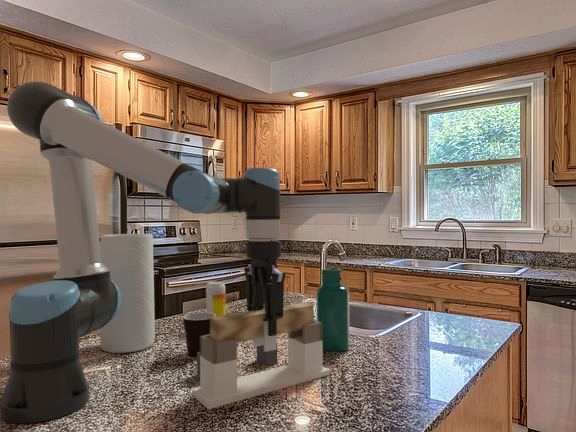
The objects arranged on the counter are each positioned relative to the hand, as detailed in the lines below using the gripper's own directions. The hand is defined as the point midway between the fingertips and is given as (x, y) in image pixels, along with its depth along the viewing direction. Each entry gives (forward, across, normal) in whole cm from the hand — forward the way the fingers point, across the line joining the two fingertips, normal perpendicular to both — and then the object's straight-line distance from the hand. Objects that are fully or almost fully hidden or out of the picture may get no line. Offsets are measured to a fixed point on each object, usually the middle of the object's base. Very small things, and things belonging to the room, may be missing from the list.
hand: (264, 347), depth 93 cm
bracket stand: (+8, 0, 0) cm, 8 cm away
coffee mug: (+8, +29, +2) cm, 30 cm away
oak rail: (-3, 0, 0) cm, 3 cm away
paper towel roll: (+8, +46, +17) cm, 50 cm away
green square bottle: (+8, +11, -29) cm, 32 cm away
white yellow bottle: (+8, +48, -11) cm, 50 cm away
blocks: (+8, +12, 0) cm, 15 cm away
